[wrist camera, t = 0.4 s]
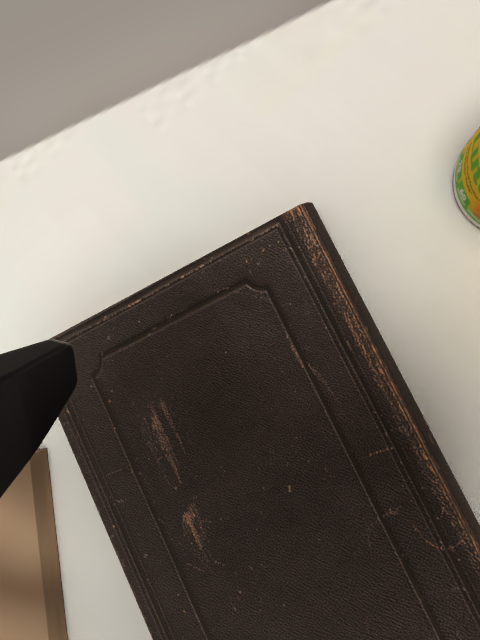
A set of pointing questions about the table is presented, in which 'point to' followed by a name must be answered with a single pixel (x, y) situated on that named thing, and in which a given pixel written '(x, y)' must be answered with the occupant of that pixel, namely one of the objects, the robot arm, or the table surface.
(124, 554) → the hardcover book
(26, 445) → the robot arm
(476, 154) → the supplement bottle
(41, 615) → the board
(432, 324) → the table surface
